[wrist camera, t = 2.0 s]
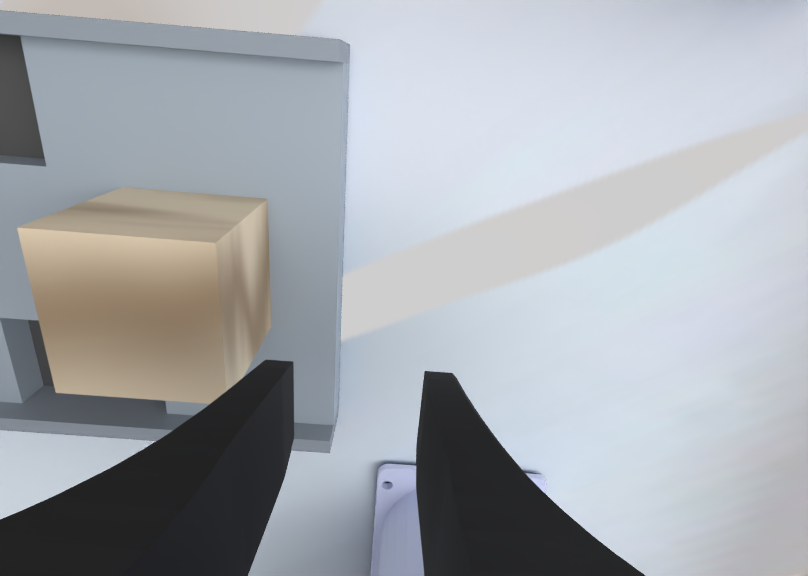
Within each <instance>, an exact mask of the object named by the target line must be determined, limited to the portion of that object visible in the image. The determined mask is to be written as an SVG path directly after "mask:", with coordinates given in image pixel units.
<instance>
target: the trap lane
mask: <svg viewBox="0 0 808 576" xmlns="http://www.w3.org/2000/svg"><path fill="white" fill-rule="evenodd" d="M349 48H350V45H349V44H348V43H346V42H344V41H342V40H340V39H329V38H318V37H306V36H294V35H283V34H271V33H259V32H247V31H235V30H224V29H212V28H201V27H188V26H177V25H165V24H154V23H142V22H129V21H118V20H107V19H94V18H83V17H72V16H71V17H70V16H60V15H49V14H37V13H25V12H14V11H2V10H0V430H8V431H22V432H37V433H51V434H65V435H80V436H94V437H108V438H122V439H137V440H151V441H158V440H159V439H161V438H162V437H164V436H165V435H167V434H169V433H170V432H171V431H173V430H174V429H176V428H177V427H178V426H180V425H181V424H183V423H184V422H186V421H187V420H188V419H190V418H191V417H193V416H194V415H196V414H197V413H198V412H200V411H201V410H203V409H204V408H205V407H207V406H208V405H209V404H205V403H191V402H177V401H163V400H149V399H136V398H122V397H108V396H94V395H80V394H66V393H56V392H55V387H54V383H53V379H52V375H51V370H50V366H49V362H48V358H47V353H46V349H45V345H44V341H43V336H42V332H41V328H40V324H39V319H38V315H37V311H36V307H35V302H34V298H33V294H32V289H31V285H30V281H29V277H28V272H27V268H26V264H25V260H24V255H23V251H22V247H21V243H20V238H19V234H18V230H17V227H20V226H22V225H25V224H28V223H30V222H33V221H35V220H38V219H41V218H43V217H46V216H48V215H51V214H54V213H56V212H59V211H62V210H64V209H67V208H69V207H72V206H75V205H77V204H80V203H83V202H85V201H88V200H90V199H93V198H96V197H98V196H101V195H103V194H106V193H109V192H111V191H114V190H117V189H119V188H122V187H126V188H139V189H152V190H164V191H177V192H189V193H202V194H215V195H227V196H240V197H252V198H265V199H268V226H269V260H270V293H271V326H272V327H271V328H270V330H269V332H268V334H267V335H266V337H265V339H264V341H263V343H262V344H261V346H260V348H259V350H258V352H257V353H256V355H255V357H254V359H253V361H252V362H251V364H250V366H249V368H248V369H247V371H246V373H245V375H244V376H246V375H247V374H248V373H249V372H251V371H252V370H253V369H254V368H256V367H257V366H258V365H259V364H261V363H262V362H263V361H264V360H266V359H267V360H280V361H293V362H294V440H293V444H292V449H291V450H293V451H308V452H322V453H330V450H331V445H332V440H333V436H334V431H335V427H336V422H337V417H338V400H339V368H340V336H341V335H340V333H341V302H342V272H343V240H344V208H345V176H346V144H347V112H348V80H349Z"/></svg>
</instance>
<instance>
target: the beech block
mask: <svg viewBox="0 0 808 576" xmlns="http://www.w3.org/2000/svg"><path fill="white" fill-rule="evenodd" d="M17 230H18V234H19V238H20V243H21V247H22V251H23V255H24V260H25V264H26V268H27V272H28V277H29V281H30V285H31V289H32V294H33V298H34V302H35V307H36V311H37V315H38V319H39V324H40V328H41V332H42V336H43V341H44V345H45V349H46V353H47V358H48V362H49V366H50V370H51V375H52V379H53V383H54V387H55V392H56V393H66V394H80V395H94V396H108V397H122V398H136V399H149V400H163V401H177V402H191V403H205V404H211V403H212V402H213V401H214V400H216V399H217V398H218V397H220V396H221V395H222V394H223V393H225V392H226V391H227V390H228V389H230V388H231V387H232V386H233V385H235V384H236V383H237V382H238V381H240V380H241V379H242V378H243V377H244V375H245V373H246V371H247V369H248V368H249V366H250V364H251V362H252V361H253V359H254V357H255V355H256V353H257V352H258V350H259V348H260V346H261V344H262V343H263V341H264V339H265V337H266V335H267V334H268V332H269V330H270V328H271V327H272V326H271V293H270V260H269V226H268V199H265V198H252V197H240V196H227V195H215V194H202V193H189V192H177V191H164V190H152V189H139V188H126V187H122V188H119V189H117V190H114V191H111V192H109V193H106V194H103V195H101V196H98V197H96V198H93V199H90V200H88V201H85V202H83V203H80V204H77V205H75V206H72V207H69V208H67V209H64V210H62V211H59V212H56V213H54V214H51V215H48V216H46V217H43V218H41V219H38V220H35V221H33V222H30V223H28V224H25V225H22V226H20V227H17Z"/></svg>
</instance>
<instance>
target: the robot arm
mask: <svg viewBox="0 0 808 576" xmlns="http://www.w3.org/2000/svg"><path fill="white" fill-rule="evenodd" d="M293 440H294V362H293V361H280V360H267V359H266V360H264V361H263V362H262V363H261V364H259V365H258V366H257V367H256V368H254V369H253V370H252V371H251V372H249V373H248V374H247V375H246V376H244V377H243V378H242V379H241V380H240V381H238V382H237V383H236V384H235V385H233V386H232V387H231V388H230V389H228V390H227V391H226V392H225V393H223V394H222V395H221V396H220V397H218V398H217V399H216V400H214V401H213V402H212V403H211V404H209V405H208V406H207V407H205V408H204V409H203V410H201V411H200V412H198V413H197V414H196V415H194V416H193V417H191V418H190V419H188V420H187V421H186V422H184V423H183V424H181V425H180V426H178V427H177V428H176V429H174V430H173V431H171V432H170V433H169V434H167V435H165V436H164V437H162V438H161V439H159V440H158V441H156V442H154V443H153V444H151V445H150V446H148V447H146V448H145V449H143V450H141V451H140V452H138V453H136V454H134V455H133V456H131V457H129V458H128V459H126V460H124V461H122V462H121V463H119V464H117V465H115V466H113V467H112V468H110V469H108V470H106V471H104V472H102V473H100V474H98V475H96V476H94V477H92V478H90V479H88V480H86V481H84V482H82V483H80V484H78V485H76V486H74V487H72V488H70V489H68V490H66V491H64V492H62V493H60V494H58V495H56V496H54V497H51V498H49V499H47V500H45V501H43V502H40V503H38V504H36V505H33V506H31V507H29V508H27V509H24V510H22V511H20V512H17V513H15V514H13V515H10V516H8V517H5V518H3V519H0V576H248V573H249V571H250V568H251V565H252V563H253V560H254V558H255V555H256V552H257V550H258V547H259V544H260V542H261V539H262V536H263V534H264V531H265V528H266V526H267V523H268V521H269V518H270V515H271V513H272V510H273V507H274V505H275V502H276V499H277V497H278V494H279V491H280V489H281V486H282V483H283V480H284V477H285V473H286V469H287V465H288V461H289V457H290V453H291V449H292V444H293ZM385 481H389V482H391V483H388V484H387V483H384V482H385ZM546 489H547V483H546V480H545V478H544V477H543V476H542V475H539V474H530V473H524V471H523V470H522V469H521V468H520V467H519V466H518V465H517V463H516V462H515V461H514V460H513V459H512V457H511V456H510V455H509V454H508V453H507V451H506V450H505V449H504V448H503V446H502V445H501V444H500V443H499V441H498V440H497V439H496V437H495V436H494V435H493V433H492V432H491V431H490V429H489V428H488V426H487V425H486V424H485V422H484V421H483V420H482V418H481V417H480V415H479V414H478V412H477V411H476V409H475V408H474V406H473V405H472V403H471V402H470V400H469V398H468V397H467V395H466V394H465V392H464V390H463V389H462V387H461V385H460V383H459V382H458V380H457V378H456V377H455V376H454V375H453V373H444V372H430V371H425V373H424V382H423V391H422V400H421V409H420V419H419V428H418V437H417V449H416V466H415V465H401V464H384V465H382V466H381V467H380V468H379V469H378V476H377V490H376V504H375V517H374V531H373V544H372V558H371V572H370V576H645V575H644V574H642V573H641V572H640V571H638V570H637V569H636V568H634V567H633V566H631V565H630V564H629V563H627V562H626V561H625V560H623V559H622V558H620V557H619V556H618V555H616V554H615V553H614V552H612V551H611V550H610V549H609V548H607V547H606V546H605V545H603V544H602V543H601V542H600V541H598V540H597V539H596V538H595V537H593V536H592V535H591V534H590V533H588V532H587V531H586V530H585V529H584V528H583V527H581V526H580V525H579V524H578V523H577V522H576V521H574V520H573V519H572V518H571V517H570V516H569V515H567V514H566V513H565V512H564V511H563V510H562V509H561V508H560V507H559V506H557V505H556V504H555V503H554V502H553V501H552V500H551V499H550V498H549V497H548V496H547V495H546V494H545V493H546Z"/></svg>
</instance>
